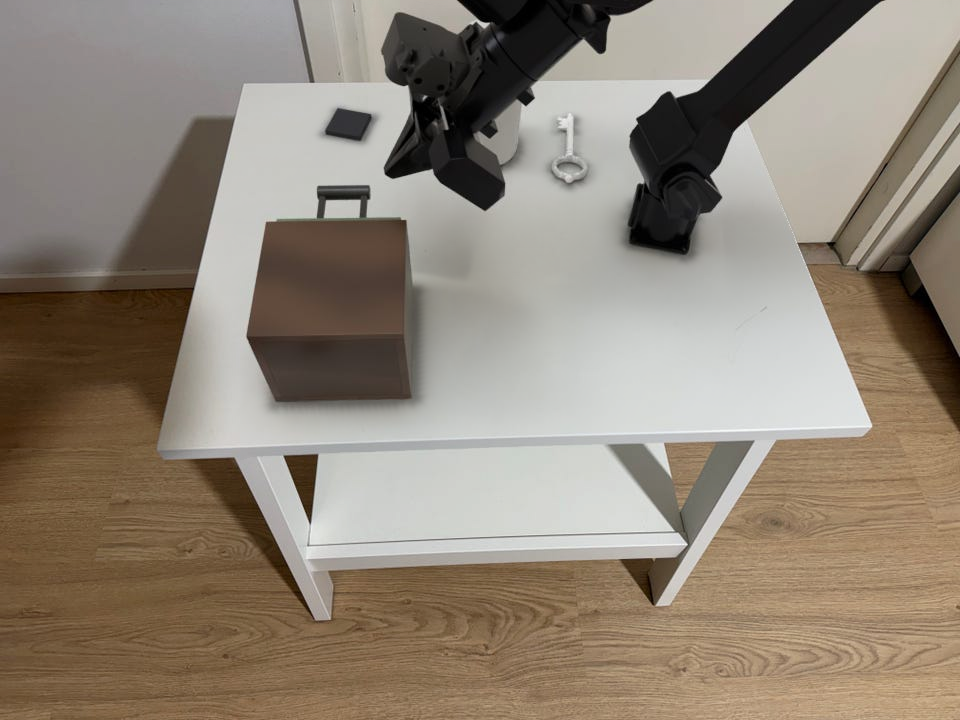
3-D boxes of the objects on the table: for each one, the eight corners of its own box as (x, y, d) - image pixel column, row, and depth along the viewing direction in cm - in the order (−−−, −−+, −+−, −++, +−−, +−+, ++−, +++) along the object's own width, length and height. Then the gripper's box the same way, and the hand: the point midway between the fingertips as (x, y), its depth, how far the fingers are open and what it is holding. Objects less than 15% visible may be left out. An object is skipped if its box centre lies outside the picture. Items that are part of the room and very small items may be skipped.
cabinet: (290, 294, 72) (265, 221, 63) (413, 292, 72) (406, 219, 63) (275, 401, 65) (245, 336, 56) (411, 398, 66) (403, 333, 57)
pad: (371, 117, 87) (371, 113, 87) (360, 140, 85) (359, 136, 84) (338, 111, 88) (337, 107, 87) (325, 134, 85) (324, 130, 85)
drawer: (300, 241, 75) (282, 178, 67) (408, 240, 75) (402, 177, 68) (282, 375, 66) (259, 319, 58) (405, 372, 66) (397, 317, 59)
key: (550, 183, 81) (587, 185, 81) (551, 177, 80) (588, 179, 80) (553, 116, 88) (587, 118, 88) (554, 110, 87) (588, 112, 87)
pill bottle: (512, 174, 82) (521, 59, 70) (445, 164, 83) (441, 48, 70) (523, 130, 86) (533, 14, 74) (459, 121, 87) (458, 4, 74)
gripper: (423, -80, 55) (305, 60, 63) (466, 64, 45) (321, 209, 53) (514, 9, 63) (399, 124, 70) (568, 149, 53) (428, 264, 61)
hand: (387, 174), depth 63 cm, fingers closed
